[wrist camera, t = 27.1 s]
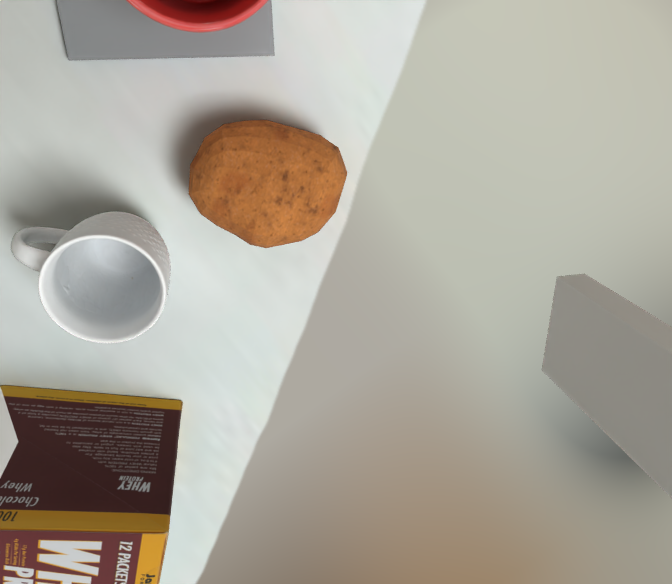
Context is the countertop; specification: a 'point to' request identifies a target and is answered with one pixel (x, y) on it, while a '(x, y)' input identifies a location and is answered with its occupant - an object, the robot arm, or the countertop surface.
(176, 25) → the flower pot
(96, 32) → the plate
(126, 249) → the mug
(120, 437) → the supplement box
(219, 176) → the potato
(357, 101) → the countertop surface
